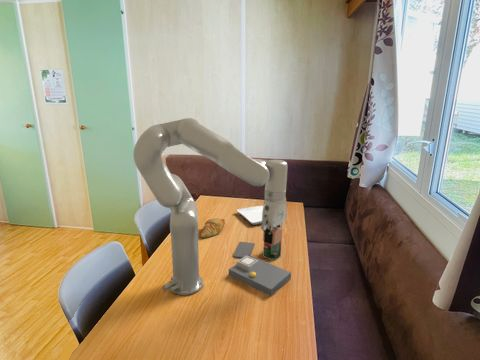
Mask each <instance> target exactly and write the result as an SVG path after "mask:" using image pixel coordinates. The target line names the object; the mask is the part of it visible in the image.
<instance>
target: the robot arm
mask: <svg viewBox="0 0 480 360" xmlns="http://www.w3.org/2000/svg"><path fill="white" fill-rule="evenodd" d="M179 145H183V146H186V147H187V148H189V149H190V150H192V151H194V152H196V153H198V154H200V155H202V156H203V157H205V158H207V159H209V160H210V161H211V162H214V163H215V164H216V165H218V166H219V167H221V168H223V170H224V169H225V170H226V171H228V172H229V173H230V174H231V175H234V176H235V177H237V178H239V179H241V180H242V181H244V182H246V183H248V185H249V184H250V185H251V186H255V187H262V186H264V201H263V212H262V224H260V225H261V226H260V229H261V230H262V231H263V233H265V235H264V241H263V243H264V242H266V243H269V244H272V237H273V234H272V229H273V228H274V227H276V226H277V227H280V228H282V227H283V223H284V222H285V221H286V220H287V207H288V206H287V198H286V196H287V195H286V194H287V193H286V192H287V182H288V162H287V161H285V160H283V159H270V160H269V159H261V158H260V159H259V158H251V157H250V156H248V155H247V154H245V153H244V152H242V151H241V150H239V149H238V148H237V147H236V146H235V145H234V144H233V143H232V142H230V141H229V140H228V139H226V138H224V137H223V136H221V135H219V134H217V133H215V132H214V131H212V130H210V129H209V128H208V127H206V126H204V125H202V124H200V122H199V121H198V120H197V119H194V118H192V117H187V118H186V117H185V118H182V119H181V118H180V119H178V120H174V121H173V120H172V121H169V122H168V121H167V122H163V123H158V124H155V125H154V124H153V125H152V126H150V127H148V128H147V129H146V130H144V131H143V133H142V134H141V135H140V136H139V138H138V139H137V141H136V143H135V144H134V148H133V153H132V154H133V160H134V164H135V167H136V168H137V170H138V172H139V173H140V175H141V177H142V178H143V180H144V182H145V183H146V185H147V187H148V188H149V190H150V191H151V193H152V194H153V197H154V198H155V200H156V201H157V203H158V204H160V206H162V207H164V208H167V209H169V210H170V211H171V212H170V219H169V231H170V241H171V243H170V244H171V258H172V259H171V260H172V262H171V263H172V276H171V277H170V280H169V281H168V282H167V283H166V284H165V285H162V290H163V292H166V291H168V290H169V291H170V292H171V293H174V294H175V295H176V294H177V295H180V296H188V295H193V294H196V293H198V292H199V291H200V290H202V289H203V286H204V279H203V277H202V276H201V275H200V269H199V268H200V264H199V260H200V258H199V216H198V215H199V214H198V206H197V204H196V202H195V200H194V198H193V196H192V195H191V192H190V191H189V190H188V188H187V186H186V185H185V183H184V181H183V180H182V179H181V178H180V176H179V175H177V174H174V173H171V171H170V170H169V168H168V166H167V164H166V163H165V162H164V160H163V159H162V154H163V153H164V151H165V150H167V148H170V147H174V146H179ZM267 227H270V229H268V228H267ZM282 229H283V228H282Z"/></svg>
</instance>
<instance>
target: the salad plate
mask: <svg viewBox="0 0 480 360" xmlns="http://www.w3.org/2000/svg"><path fill="white" fill-rule="evenodd" d="M263 205H264V204H263ZM263 205H256V206H255V205H254V206H249V207H244V208H238V209H236V212H237V213H238V214H239V215H240V216H242V217H243V218H244V219H245V220H246V221H248V222H249V223H250V224H252V225H262V212H263Z"/></svg>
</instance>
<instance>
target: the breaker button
mask: <svg viewBox="0 0 480 360" xmlns="http://www.w3.org/2000/svg"><path fill="white" fill-rule="evenodd" d="M241 262H242V263H244V264H246V265H248V266H249V265H251V264H252V263H254V262H255V260H252V259H250V258H248V257H246V258H245V259H243V260H242V261H241Z"/></svg>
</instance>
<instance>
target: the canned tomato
mask: <svg viewBox="0 0 480 360" xmlns="http://www.w3.org/2000/svg"><path fill="white" fill-rule="evenodd" d="M262 252H263V257H264V258H266V259H268V260H278V259H280V258H281V256H282V254H281V253H282V240H281V241H280V242H278V243H277V244H275V245H273V244H269V243H266V242H264V241H263V251H262Z"/></svg>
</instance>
